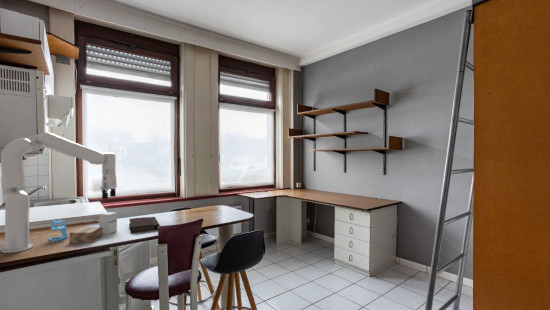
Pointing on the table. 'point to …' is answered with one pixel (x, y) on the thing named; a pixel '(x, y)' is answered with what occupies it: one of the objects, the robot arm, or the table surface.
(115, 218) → the supplement box
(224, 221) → the table surface
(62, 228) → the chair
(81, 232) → the walnut block
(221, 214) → the table surface
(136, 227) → the diary
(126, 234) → the table surface
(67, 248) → the table surface
